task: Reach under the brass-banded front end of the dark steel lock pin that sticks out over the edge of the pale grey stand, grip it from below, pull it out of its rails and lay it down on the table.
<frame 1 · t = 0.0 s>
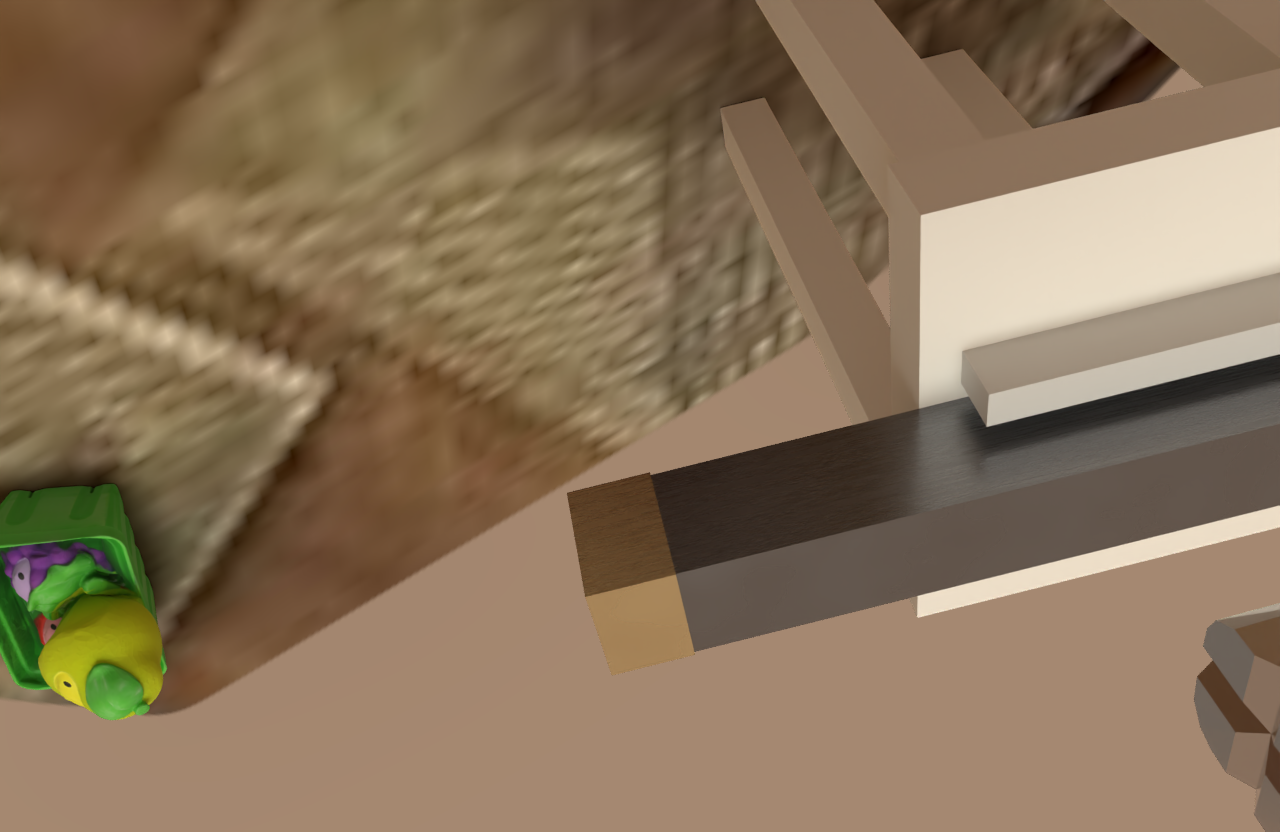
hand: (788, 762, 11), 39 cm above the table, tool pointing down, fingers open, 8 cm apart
fruit basket: (97, 539, 61), on the table
lock pin: (1057, 417, 27), point 26 cm above the table, touching pin stand
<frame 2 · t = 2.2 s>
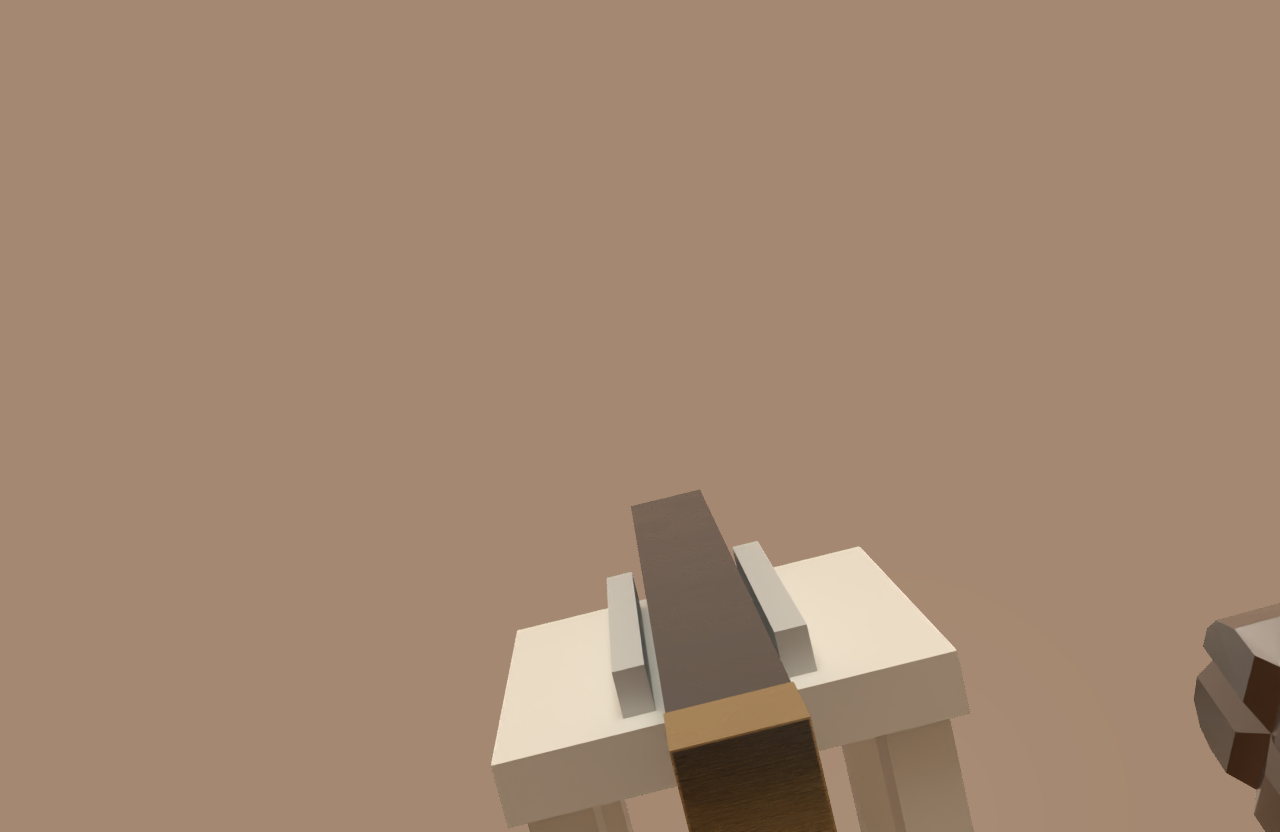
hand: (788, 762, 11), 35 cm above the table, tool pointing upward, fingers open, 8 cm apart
lock pin: (711, 665, 36), point 26 cm above the table, touching pin stand
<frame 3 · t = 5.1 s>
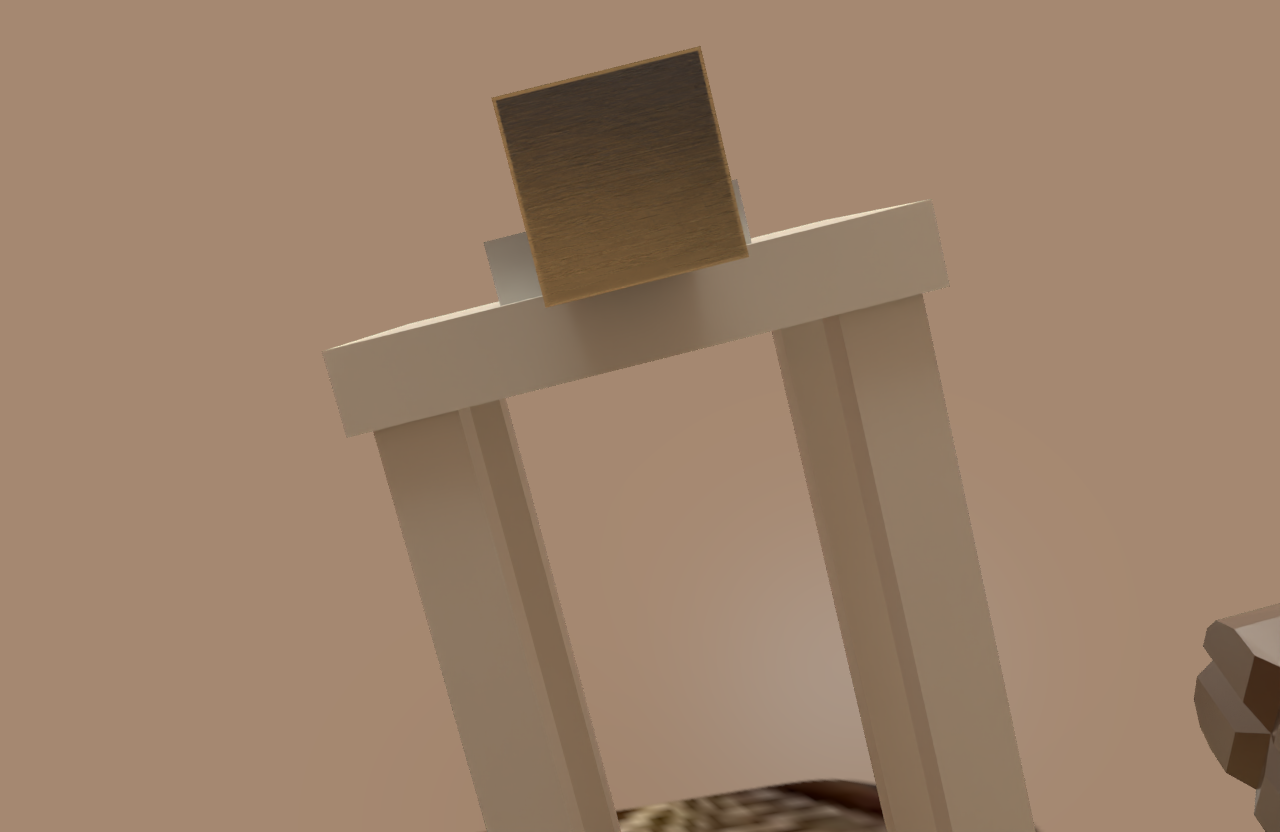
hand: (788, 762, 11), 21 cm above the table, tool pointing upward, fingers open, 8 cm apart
lock pin: (623, 273, 28), point 26 cm above the table, touching pin stand
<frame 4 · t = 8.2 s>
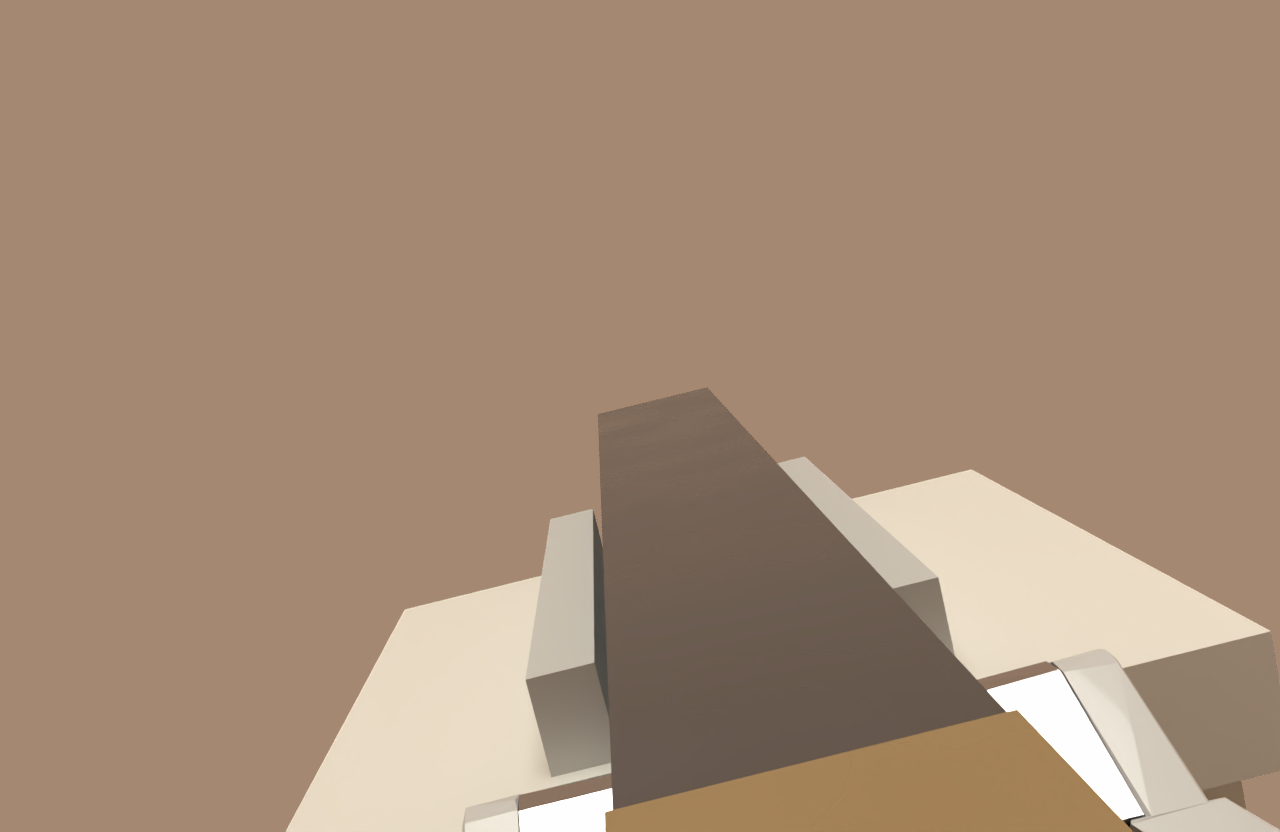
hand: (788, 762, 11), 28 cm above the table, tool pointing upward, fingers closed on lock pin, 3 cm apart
lock pin: (733, 664, 19), point 26 cm above the table, touching gripper, pin stand
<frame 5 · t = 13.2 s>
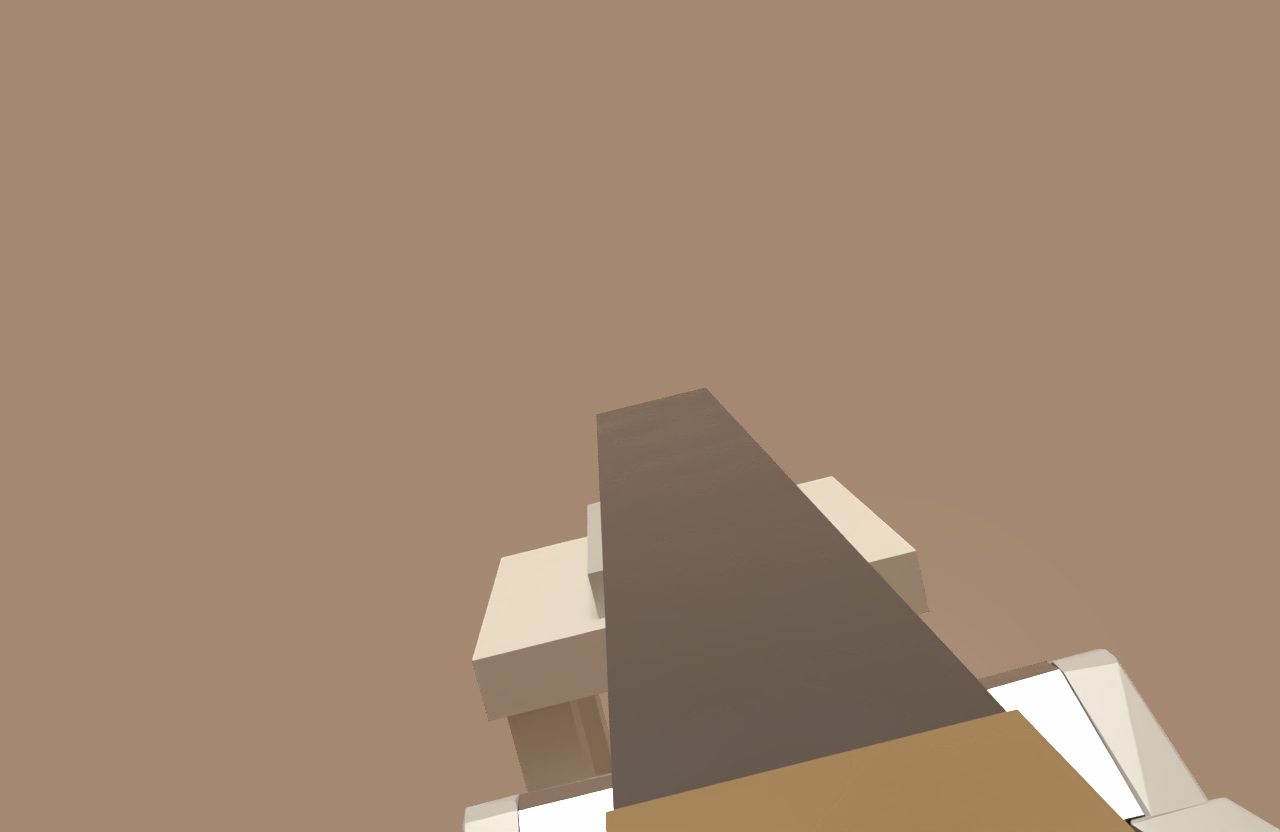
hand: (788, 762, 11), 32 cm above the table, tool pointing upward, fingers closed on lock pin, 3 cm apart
lock pin: (732, 664, 19), point 30 cm above the table, touching gripper
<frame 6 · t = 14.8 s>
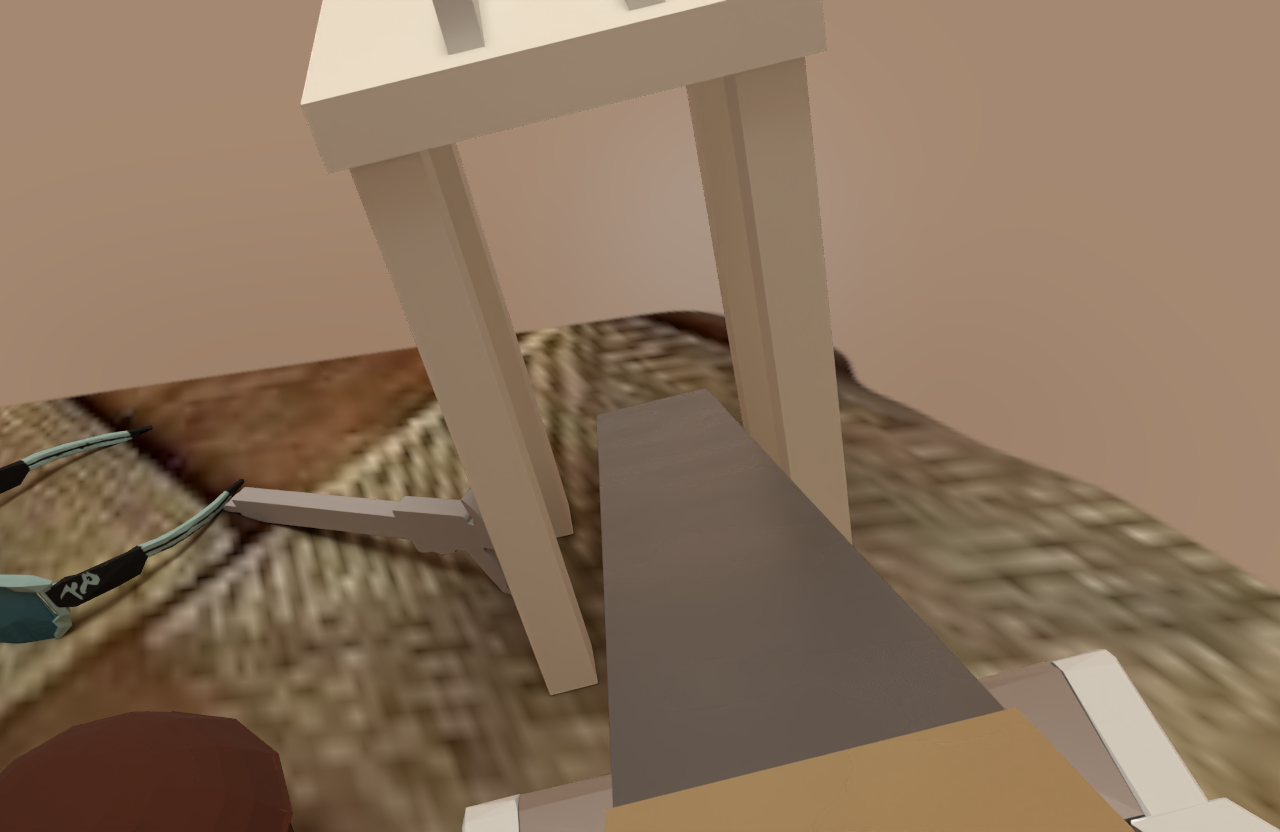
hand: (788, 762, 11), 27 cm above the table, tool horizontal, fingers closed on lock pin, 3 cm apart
sunglasses: (86, 542, 60), on the table
caliper: (379, 552, 55), on the table
pin stand: (680, 562, 50), on the table
lock pin: (732, 664, 19), point 21 cm above the table, tilted 30°, touching gripper
when the fingers open (12 cm above the table, at t = 18.3 s): lock pin drops 6 cm, on the table.
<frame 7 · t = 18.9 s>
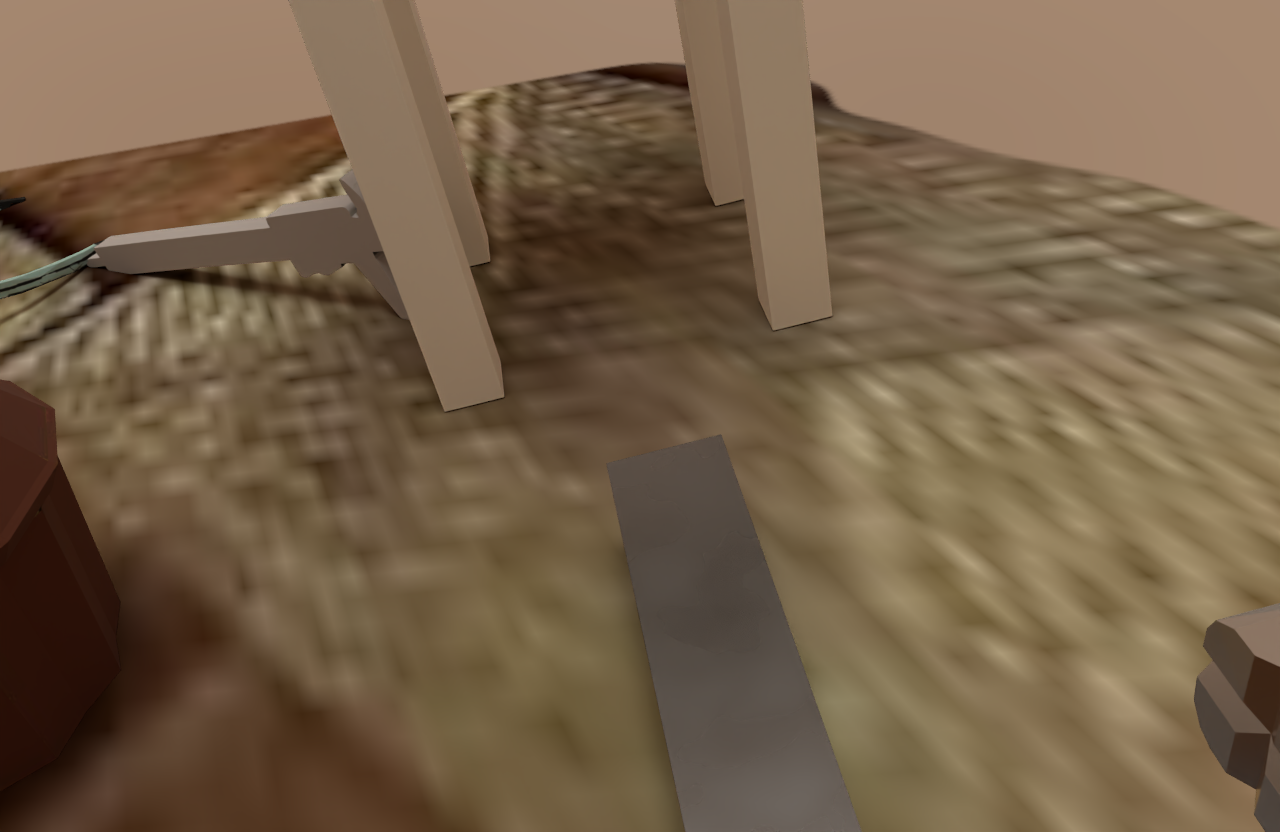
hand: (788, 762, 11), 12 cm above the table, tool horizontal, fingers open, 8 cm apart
caliper: (262, 295, 46), on the table
pin stand: (615, 278, 41), on the table
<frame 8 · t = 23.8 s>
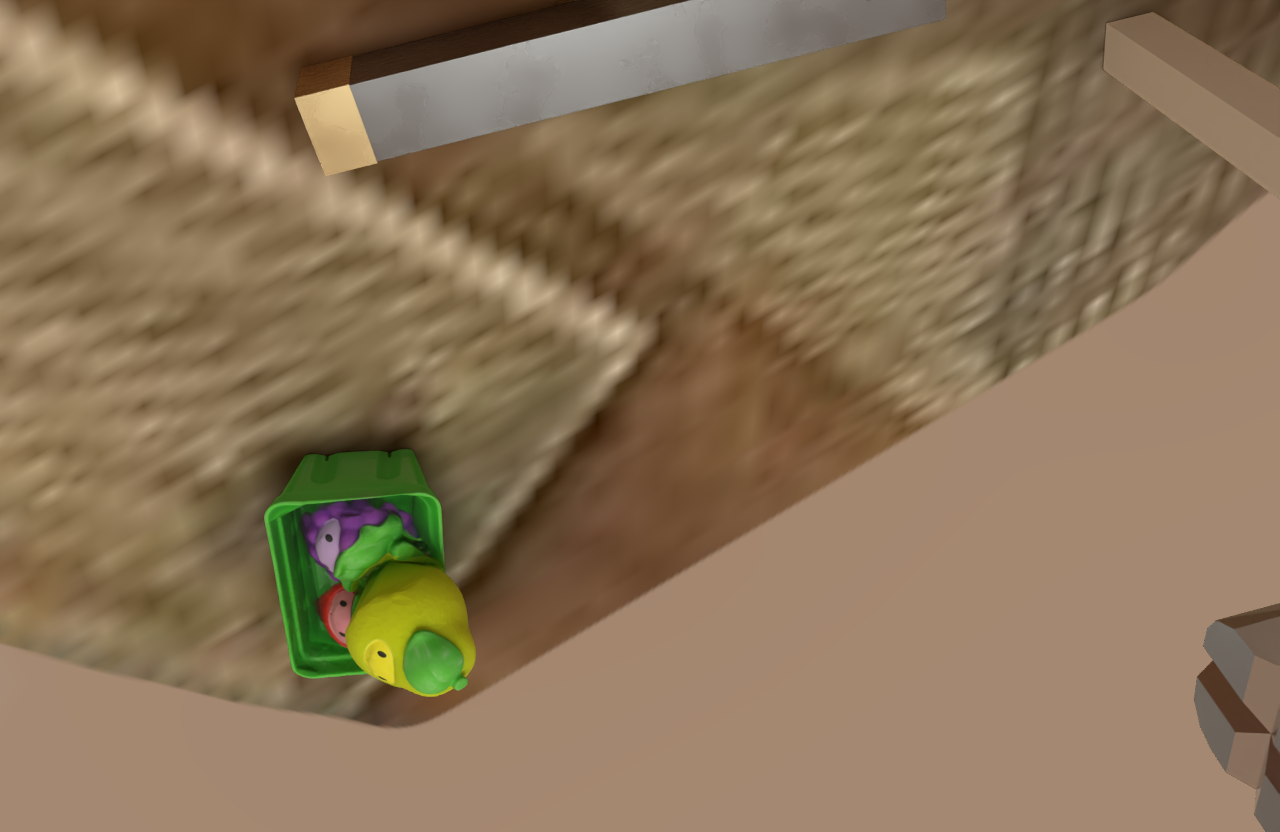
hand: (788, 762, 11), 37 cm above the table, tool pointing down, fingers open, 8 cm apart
fruit basket: (379, 515, 57), on the table
lock pin: (616, 31, 44), on the table
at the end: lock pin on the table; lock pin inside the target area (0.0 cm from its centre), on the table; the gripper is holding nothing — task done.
